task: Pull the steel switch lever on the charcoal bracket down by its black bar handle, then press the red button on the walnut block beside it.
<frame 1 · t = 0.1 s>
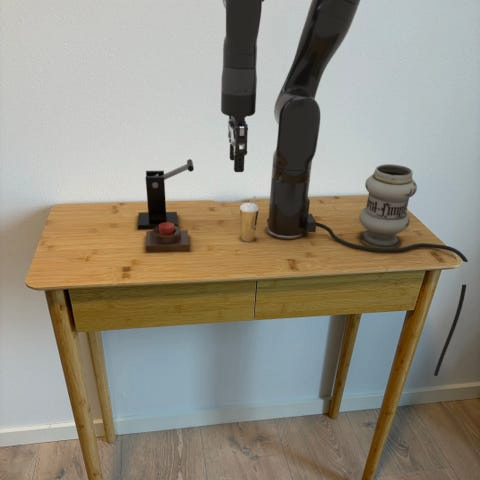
hand: (236, 165, 115), 17 cm above the table, tool pointing down, fingers open, 8 cm apart
switch lever: (171, 173, 121), point 13 cm above the table, hinge at 24.0°
start button: (166, 228, 116), point 4 cm above the table, slide at 0.1 cm
button block: (167, 244, 118), on the table
apothecary jar: (379, 240, 124), on the table
switch bracket: (158, 222, 128), on the table
milkshake: (248, 238, 123), on the table
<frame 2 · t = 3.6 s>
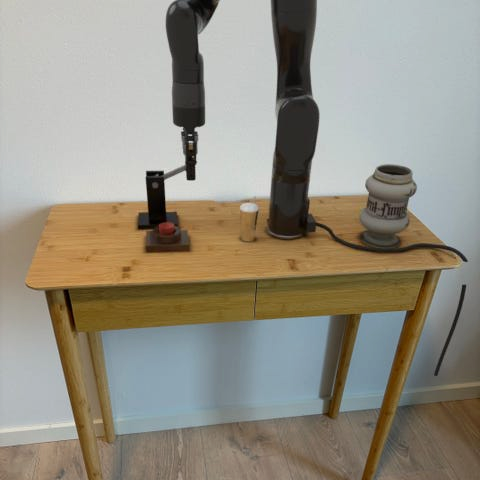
hand: (190, 175, 122), 12 cm above the table, tool pointing down, fingers closed on switch lever, 5 cm apart
switch lever: (171, 173, 121), point 13 cm above the table, hinge at 24.0°, touching gripper
everything else where it was.
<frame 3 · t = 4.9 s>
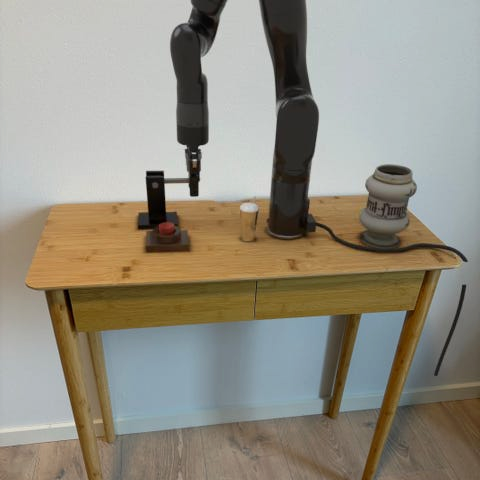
hand: (193, 191, 125), 8 cm above the table, tool pointing down, fingers closed on switch lever, 5 cm apart
switch lever: (173, 180, 122), point 11 cm above the table, hinge at 0.5°, touching gripper
everything else where it was.
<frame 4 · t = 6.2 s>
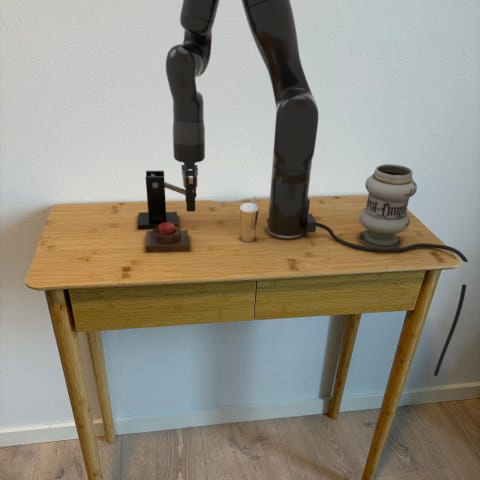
hand: (190, 206, 127), 4 cm above the table, tool pointing down, fingers open, 5 cm apart
switch lever: (172, 187, 123), point 9 cm above the table, hinge at -22.3°
everything else where it was.
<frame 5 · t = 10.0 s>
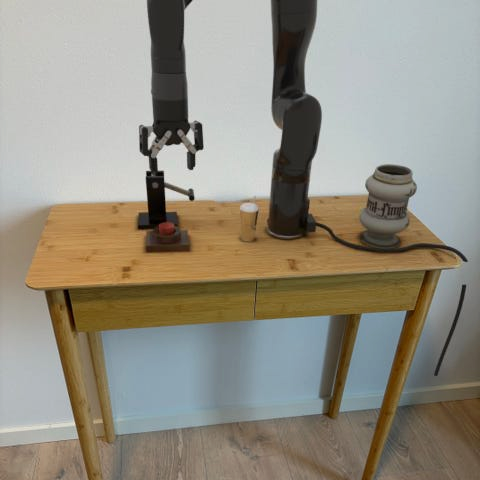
hand: (173, 171, 113), 16 cm above the table, tool pointing down, fingers open, 8 cm apart
nothing on the table moved.
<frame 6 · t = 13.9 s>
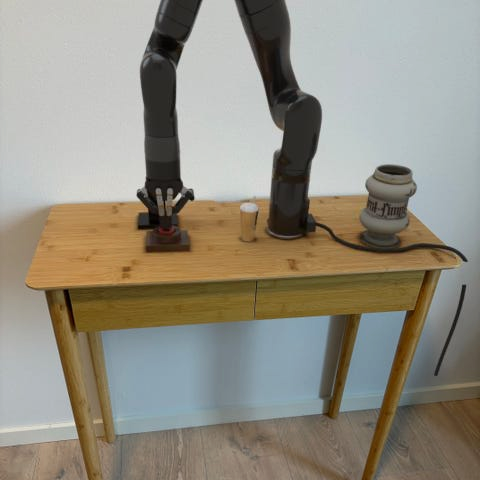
hand: (166, 229, 116), 4 cm above the table, tool pointing down, fingers closed
start button: (166, 232, 117), point 3 cm above the table, slide at -0.8 cm, touching gripper
everything else where it was.
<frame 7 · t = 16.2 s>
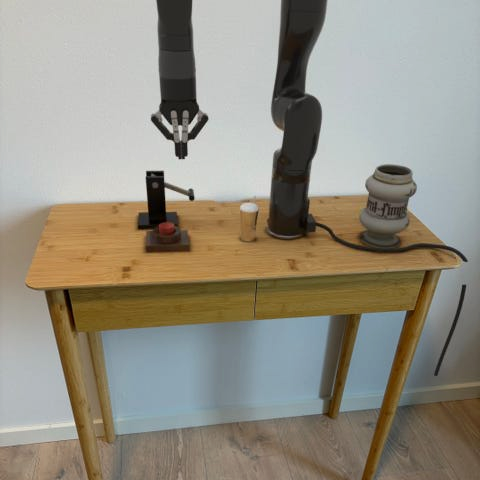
hand: (181, 158, 111), 19 cm above the table, tool pointing down, fingers closed
start button: (166, 228, 116), point 4 cm above the table, slide at 0.1 cm
everything else where it was.
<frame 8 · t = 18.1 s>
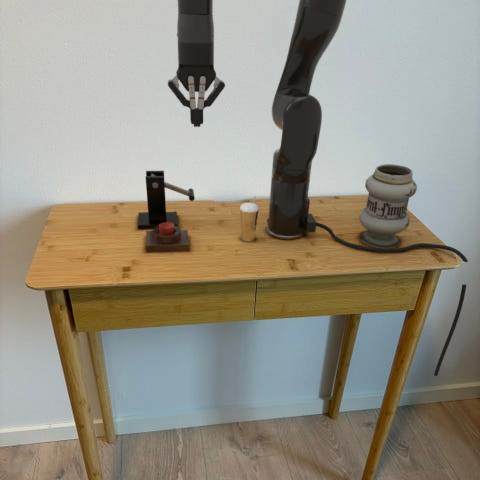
hand: (197, 125, 112), 25 cm above the table, tool pointing down, fingers closed
nothing on the table moved.
at the end: switch lever at -22° (first picture: +24°); start button pushed in 1.1 cm at the most during the clip, back to where it started at the end; start button slide at 0.1 cm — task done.
